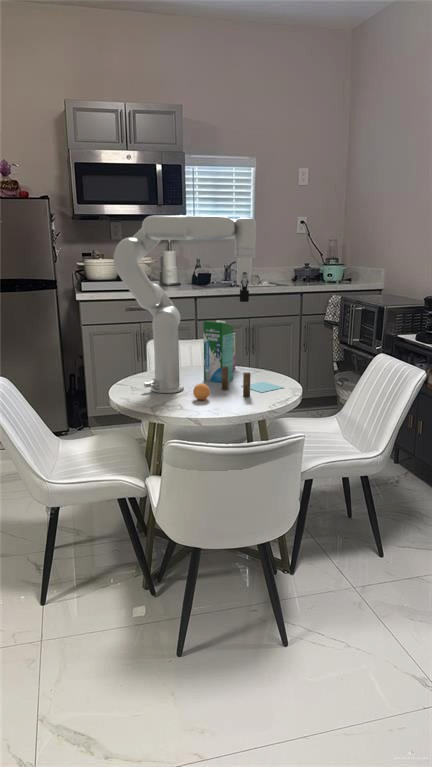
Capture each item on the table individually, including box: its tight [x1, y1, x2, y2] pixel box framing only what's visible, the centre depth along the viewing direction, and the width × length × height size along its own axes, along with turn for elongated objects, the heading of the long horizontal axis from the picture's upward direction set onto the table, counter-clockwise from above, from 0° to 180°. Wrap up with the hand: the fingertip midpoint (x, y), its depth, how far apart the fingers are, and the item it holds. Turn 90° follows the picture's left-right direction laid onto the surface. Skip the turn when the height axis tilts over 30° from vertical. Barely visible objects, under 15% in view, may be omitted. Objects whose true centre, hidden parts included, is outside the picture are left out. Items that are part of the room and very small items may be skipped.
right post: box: [242, 371, 251, 398], centre depth 195 cm, size 3×3×9 cm
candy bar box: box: [233, 332, 236, 371], centre depth 237 cm, size 11×5×16 cm, turn 168°
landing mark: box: [241, 381, 285, 393], centre depth 210 cm, size 12×12×1 cm
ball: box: [192, 383, 211, 401], centre depth 191 cm, size 6×6×6 cm
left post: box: [221, 366, 229, 391], centre depth 205 cm, size 3×3×9 cm
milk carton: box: [203, 319, 234, 384], centre depth 219 cm, size 9×9×25 cm
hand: (244, 300), depth 197 cm, fingers open, 9 cm apart
